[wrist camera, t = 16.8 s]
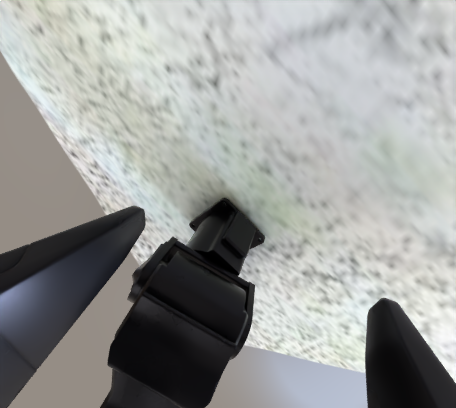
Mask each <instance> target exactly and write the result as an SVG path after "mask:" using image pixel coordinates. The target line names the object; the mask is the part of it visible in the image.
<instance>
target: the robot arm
mask: <svg viewBox="0 0 456 408" xmlns="http://www.w3.org/2000/svg"><path fill="white" fill-rule="evenodd" d="M223 202H225V203H226V204H224V203H223ZM193 224H194V225H193ZM189 225H190V227H191V228H192V229H193V230H194V231H195V233H194V234H193V236H192V237H191V239H190V241H189V242H188V244H187V245H184V244H183V243H181V242H179V241H177V240H178V239H176V238H174V237H172V238H171V239H170V240H169V241H168V242H167V241H166V242H165V243H164V244H161V245H160V246H159V247H158V249H157V250H156V251H155V253H154V254H153V255H152V256H151V257H150V258H149V259H148V260H147V261H146V262H144V263H143V264H142V265H141V266H140V267H138V268H137V269H136V270H135V272H134V273H133V275H132V278H133V285H132V288H131V292H130V294H129V296H128V300H129V301H131V302H132V303H134V304H133V306H132V307H131V309H130V311H129V313H128V314H127V316H126V317H125V319H124V320H123V322H122V324H121V325H120V327H119V329H118V330H117V332H116V334H115V339H114V341H113V342H112V344H111V346H110V351H109V357H108V366H109V367H111V368H113V370H112V387H111V390H110V392H109V393H108V395H107V397H106V398H105V400H104V402H103V404H102V405H101V407H100V408H205V407H206V406H207V405H208V404H209V403H210V401H211V399H212V397H213V394H214V392H215V389H216V387H217V384H218V382H219V380H220V378H221V375H222V373H223V371H224V369H225V367H226V365H227V363H228V361H229V360H231V359H233V358H235V357H236V356H237V354H238V353H239V352H240V350H241V349H242V347H243V345H244V343H245V341H246V339H247V337H248V334H249V331H250V328H251V324H252V316H253V304H254V292H255V285H254V284H252V283H251V282H247V281H245V280H244V279H242V278H240V277H238V275H239V274H240V271H241V269H242V266H243V263H244V260H245V258H246V257H247V254H248V252H249V249H251V248H254V247H256V246H258V245H260V244H262V243H263V242H264V240H265V237H264V235H263V234H262V233H261V232H260V231H259V230H258V229H257V228H256V227H255V226H254V225H253V224H252V223H251V222H250V221H249V220H248V219H247V218H246V217H245V216H244V215H243V214H242V213H241V212H240V211H239V210H238V209H237V208H236V207H235V206H234V205H233V204H232V203H231V202H230V201H229V200H228V199H226V198H222V199H221V200H220V201H218V202H217V203H215V204H214V205H213V206H211V207H210V208H209V209H207V210H206V211H204V212H203V213H202V214H200V215H199V216H198V217H196V218H195V219H194V220H192V221H191V222H190V224H189ZM144 228H145V212H144V209H142V208H140V207H137V206H131V207H128V208H125V209H123V210H120V211H117V212H115V213H112V214H109V215H106V216H104V217H101V218H98V219H96V220H93V221H90V222H88V223H85V224H82V225H79V226H77V227H74V228H71V229H68V230H66V231H63V232H60V233H58V234H55V235H52V236H49V237H47V238H44V239H41V240H39V241H36V242H33V243H31V244H30V245H25V246H22V247H20V248H17V249H14V250H11V251H9V252H5V253H2V254H0V408H7V407H8V406H9V405H10V404H11V402H12V401H13V400H14V398H15V397H16V396H17V395H18V393H19V392H20V391H21V390H22V388H23V387H24V386H25V385H26V383H27V382H28V381H29V380H30V378H31V377H32V376H33V375H34V373H35V372H36V370H37V369H38V368H39V366H41V364H42V363H43V362H44V360H45V359H46V358H47V357H48V355H49V354H50V353H51V352H52V350H53V349H54V348H55V347H56V345H57V344H58V343H59V341H60V340H61V339H62V338H63V337H64V335H65V334H66V333H67V332H68V330H69V329H70V328H71V327H72V325H73V324H74V323H75V322H76V320H77V319H78V318H79V317H80V315H81V314H82V313H83V311H84V310H85V309H86V308H87V306H88V305H89V304H90V303H91V301H92V300H93V299H94V297H95V296H96V295H97V294H98V292H99V291H100V290H101V289H102V288H103V286H104V285H105V284H106V283H107V281H108V280H109V279H110V278H111V276H112V275H113V274H114V273H115V271H116V270H117V269H118V267H119V266H120V265H121V264H122V262H123V261H124V260H125V258H126V257H127V255H128V253H129V252H130V250H131V249H132V247H133V246H134V244H135V242H136V241H137V239H138V238H139V236H140V235H141V233H142V231H143V230H144ZM259 238H260V239H259ZM365 368H366V383H367V384H366V385H367V401H368V402H367V403H368V408H456V383H455V382H454V380H453V379H452V378H451V376H450V375H449V373H448V372H447V371H446V369H445V368H444V366H443V365H442V364H441V362H440V361H439V359H438V358H437V357H436V355H435V354H434V353H433V351H432V350H431V348H430V347H429V346H428V344H427V343H426V341H425V340H424V339H423V337H422V336H421V334H420V333H419V332H418V330H417V329H416V328H415V326H414V325H413V323H412V322H411V321H410V319H409V318H408V316H407V315H406V314H405V312H404V311H403V309H402V308H401V307H400V305H399V304H398V303H397V302H395V301H392V300H390V299H387V298H382V299H380V300H379V301H378V302H377V303H376V304H375V305H374V306H372V307H371V308H370V310H369V312H368V316H367V333H366V351H365Z"/></svg>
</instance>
